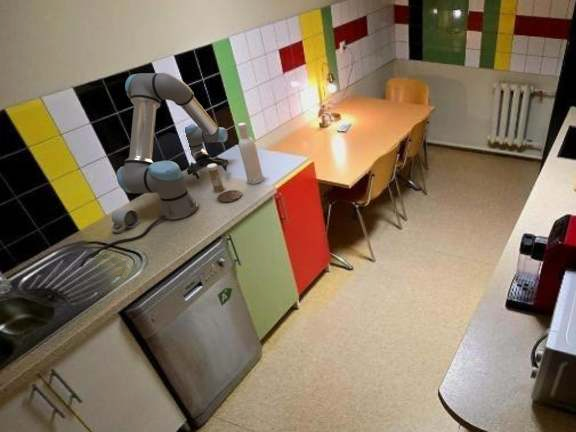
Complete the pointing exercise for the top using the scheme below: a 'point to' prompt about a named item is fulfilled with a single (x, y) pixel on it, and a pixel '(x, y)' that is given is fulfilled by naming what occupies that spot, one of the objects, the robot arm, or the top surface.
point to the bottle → (249, 156)
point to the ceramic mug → (124, 219)
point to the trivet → (229, 196)
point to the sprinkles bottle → (215, 177)
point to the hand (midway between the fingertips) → (211, 172)
